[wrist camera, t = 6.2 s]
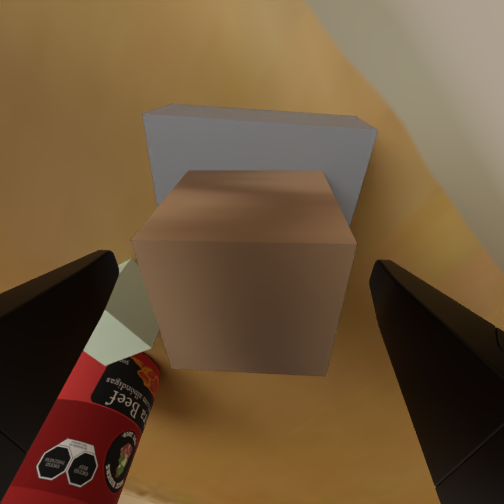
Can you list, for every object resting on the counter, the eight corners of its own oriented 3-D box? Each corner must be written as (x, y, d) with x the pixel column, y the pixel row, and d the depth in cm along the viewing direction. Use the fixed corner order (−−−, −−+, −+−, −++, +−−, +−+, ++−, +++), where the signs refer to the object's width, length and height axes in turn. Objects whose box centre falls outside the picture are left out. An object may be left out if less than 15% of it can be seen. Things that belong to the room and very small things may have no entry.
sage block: (90, 280, 18) (49, 327, 15) (131, 257, 17) (97, 303, 14) (132, 316, 20) (104, 365, 17) (173, 298, 19) (151, 348, 15)
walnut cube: (204, 273, 13) (172, 368, 9) (188, 170, 10) (130, 240, 6) (308, 276, 13) (325, 376, 9) (322, 170, 10) (357, 244, 6)
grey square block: (174, 102, 12) (142, 113, 9) (353, 114, 12) (378, 130, 9) (188, 249, 17) (170, 287, 14) (318, 260, 16) (327, 301, 14)
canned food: (174, 389, 25) (117, 568, 16) (96, 390, 26) (3, 558, 17) (144, 336, 21) (46, 538, 12) (54, 339, 22) (-99, 527, 13)
